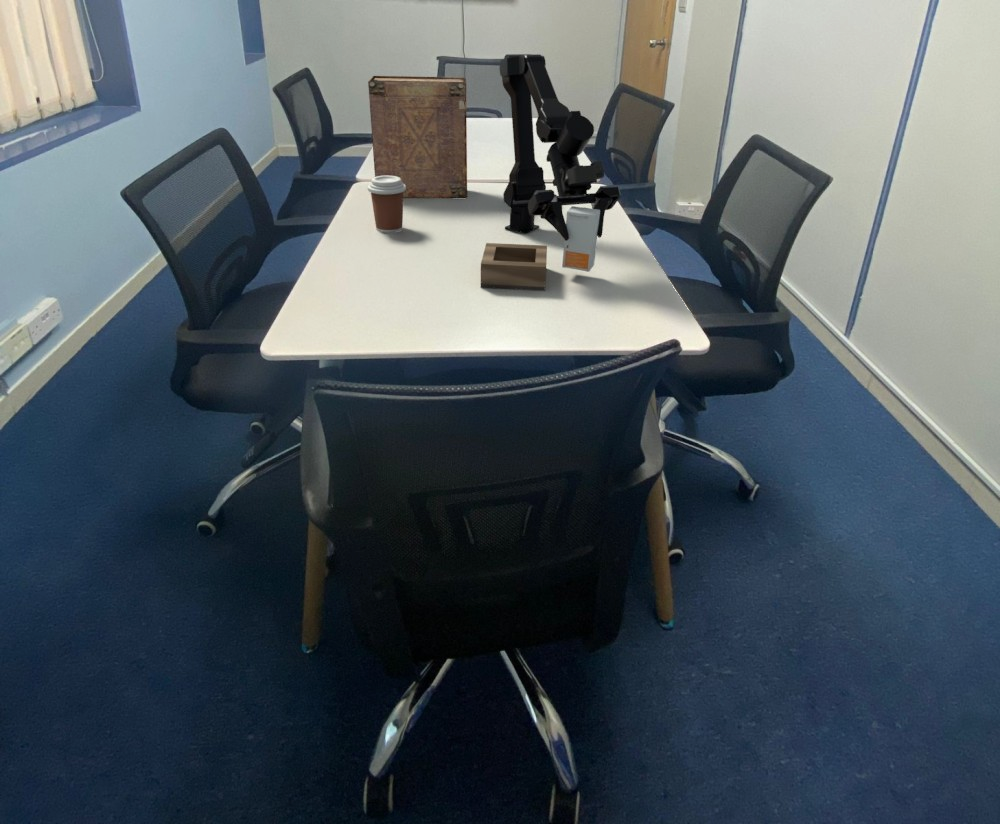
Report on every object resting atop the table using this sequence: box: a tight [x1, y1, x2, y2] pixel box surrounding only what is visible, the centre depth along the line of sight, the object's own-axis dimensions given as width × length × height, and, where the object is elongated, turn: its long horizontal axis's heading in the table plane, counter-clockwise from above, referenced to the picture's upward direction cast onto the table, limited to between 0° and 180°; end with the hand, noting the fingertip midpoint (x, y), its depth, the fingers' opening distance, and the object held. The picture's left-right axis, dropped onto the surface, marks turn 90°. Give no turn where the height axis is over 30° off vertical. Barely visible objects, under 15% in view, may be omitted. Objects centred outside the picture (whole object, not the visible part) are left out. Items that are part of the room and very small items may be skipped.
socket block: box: [480, 242, 548, 292], centre depth 149 cm, size 13×13×5 cm
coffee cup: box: [367, 175, 406, 234], centre depth 174 cm, size 9×9×12 cm
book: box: [367, 75, 468, 199], centre depth 197 cm, size 25×9×30 cm, turn 93°
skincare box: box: [561, 205, 600, 273], centre depth 148 cm, size 6×4×12 cm
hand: (583, 238), depth 146 cm, fingers closed on skincare box, 7 cm apart
